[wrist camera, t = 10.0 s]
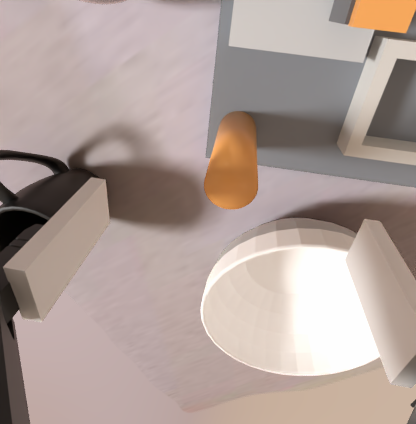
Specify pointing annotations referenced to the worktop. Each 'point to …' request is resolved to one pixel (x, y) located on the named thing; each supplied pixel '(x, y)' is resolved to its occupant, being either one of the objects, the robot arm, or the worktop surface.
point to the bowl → (288, 300)
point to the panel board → (318, 90)
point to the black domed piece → (103, 1)
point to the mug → (37, 195)
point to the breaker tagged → (374, 14)
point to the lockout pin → (233, 163)
